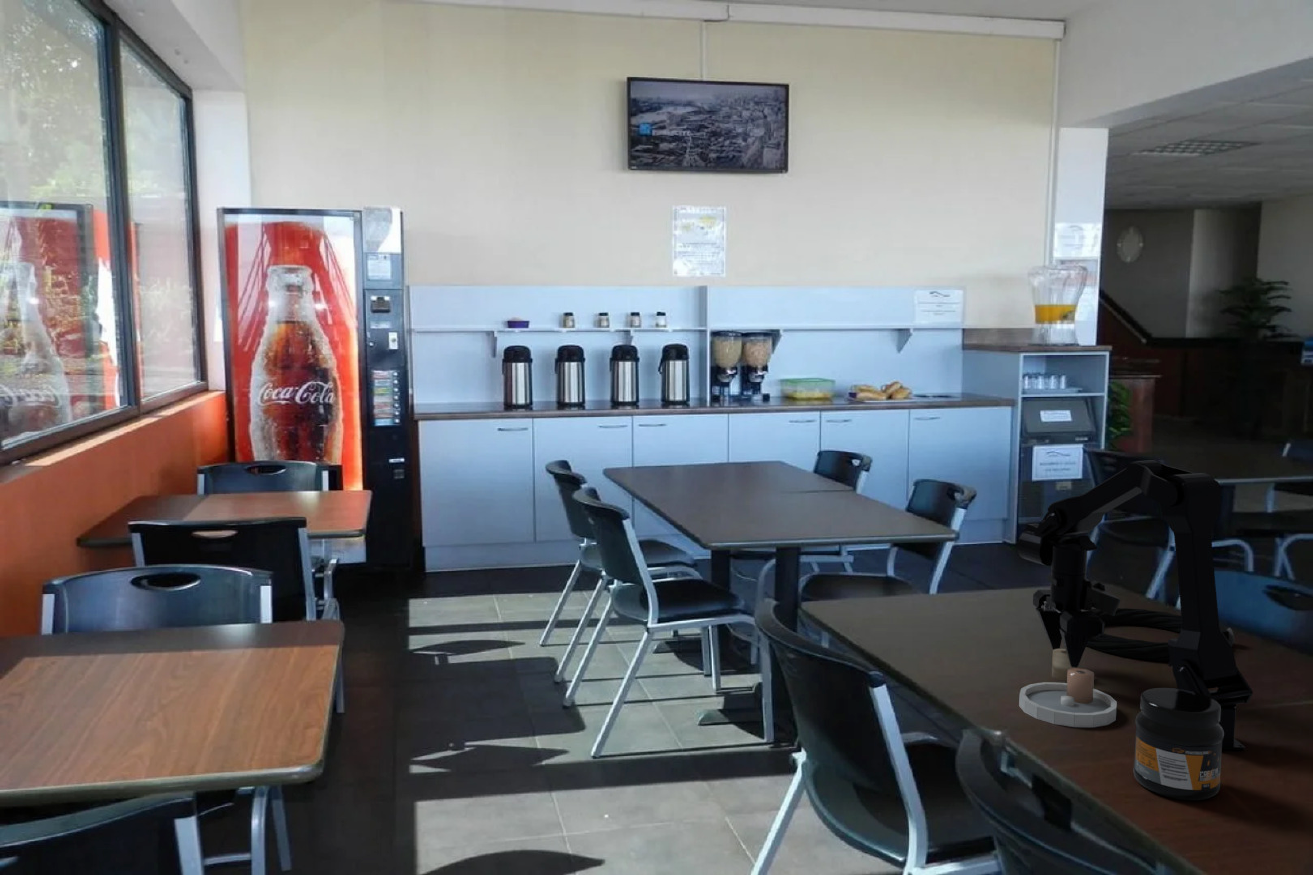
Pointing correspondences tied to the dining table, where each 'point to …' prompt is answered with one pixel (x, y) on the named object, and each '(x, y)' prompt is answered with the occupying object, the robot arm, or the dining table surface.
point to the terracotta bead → (1080, 685)
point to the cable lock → (1140, 647)
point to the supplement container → (1178, 744)
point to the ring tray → (1066, 706)
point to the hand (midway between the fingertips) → (1064, 658)
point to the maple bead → (1060, 664)
